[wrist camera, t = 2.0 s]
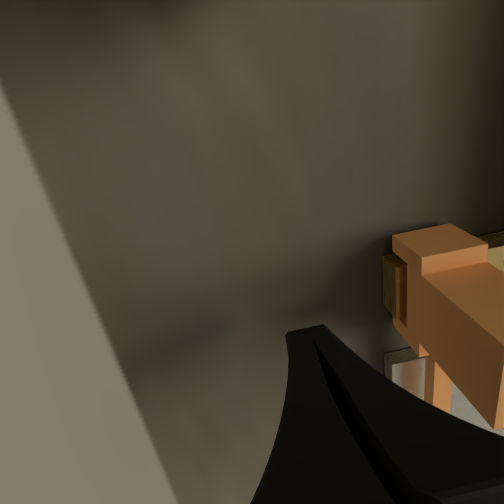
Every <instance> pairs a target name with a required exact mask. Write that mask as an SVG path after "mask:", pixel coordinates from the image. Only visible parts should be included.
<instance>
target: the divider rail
mask: <svg viewBox="0 0 504 504" xmlns="http://www.w3.org/2000/svg"><path fill="white" fill-rule="evenodd" d="M476 237H477V238H478V239H480V240H482V241H484V242H486V243H488V253H487V262H488V263H489V264H491V265H493V266H494V267H496V268H498V269H499V270H501V271H503V272H504V231H500V232H496V233H491V234H486V235H481V236H476ZM382 273H383V305H384V306H385V307H386V308H387V309H388V310H389V312H390V313H391V314H392V315H393V316H394V318H395V319H400V318H405V317H407V263H406V262H405V261H404V260H403V259H401V258H400V257H399V256H398V255H397V254H396V253H394V254H389V255H384V256H382Z"/></svg>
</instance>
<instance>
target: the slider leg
mask: <svg viewBox="0 0 504 504" xmlns="http://www.w3.org/2000/svg"><path fill="white" fill-rule="evenodd" d="M392 251H393V252H394V253H396V254H397V255H398V256H399V257H400V258H401V259H403V260H404V261H405V262H406V263H407V317H405V318H400V319H395V318H394V316H393V326H394V327H395V328H396V329H397V331H398V332H399V333H400V334H401V336H402V337H403V338H404V339H405V340H406V342H407V343H408V344H409V345H410V347H411V348H412V349H413V350H414V352H415V353H416V354H417V355H418V357H423V356H425V383H424V401H426V402H428V403H430V404H431V405H433V406H435V407H437V408H439V409H441V410H443V411H445V412H447V413H449V414H450V402H451V390H452V382H453V383H454V384H455V385H456V387H457V388H458V389H459V390H460V391H461V392H462V394H463V395H464V396H465V397H466V398H467V399H468V401H469V402H470V403H471V404H472V405H473V406H474V408H475V409H476V410H477V411H478V412H479V413H480V415H481V416H482V417H483V418H484V419H485V420H486V422H487V423H488V424H489V425H490V426H491V428H492V429H493V430H497V429H501V428H504V272H503V271H501V270H499V269H498V268H496V267H494V266H493V265H491V264H489V263H488V262H487V253H488V243H486V242H484V241H482V240H480V239H478V238H477V237H475V236H473V235H471V234H469V233H467V232H465V231H463V230H462V229H460V228H458V227H456V226H454V225H452V224H450V223H449V224H444V225H439V226H434V227H429V228H424V229H419V230H414V231H410V232H405V233H400V234H395V235H392Z"/></svg>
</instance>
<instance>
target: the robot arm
mask: <svg viewBox="0 0 504 504" xmlns="http://www.w3.org/2000/svg"><path fill="white" fill-rule="evenodd" d="M285 337H286V343H287V349H288V356H289V365H288V380H287V388H286V396H285V402H284V407H283V412H282V416H281V421H280V425H279V428H278V432H277V436H276V439H275V443H274V446H273V449H272V452H271V455H270V457H269V460H268V463H267V466H266V468H265V471H264V474H263V476H262V479H261V481H260V484H259V486H258V488H257V490H256V492H255V495H254V497H253V499H252V501H251V503H250V504H504V436H502V435H499V434H496V433H493V432H491V431H488V430H485V429H483V428H481V427H478V426H476V425H474V424H471V423H469V422H467V421H464V420H462V419H460V418H458V417H456V416H453V415H451V414H449V413H447V412H445V411H443V410H441V409H439V408H437V407H435V406H433V405H431V404H430V403H428V402H426V401H424V400H422V399H420V398H418V397H417V396H415V395H413V394H411V393H410V392H408V391H407V390H405V389H403V388H402V387H400V386H399V385H397V384H396V383H394V382H393V381H391V380H390V379H388V378H387V377H385V376H384V375H383V374H381V373H380V372H378V371H377V370H376V369H374V368H373V367H372V366H370V365H369V364H368V363H367V362H365V361H364V360H363V359H362V358H360V357H359V356H358V355H357V354H356V353H354V352H353V351H352V350H351V349H350V348H349V347H347V346H346V345H345V344H344V343H343V342H342V341H341V340H340V339H339V338H337V337H336V336H335V335H334V334H333V333H332V332H331V331H330V330H329V329H328V328H327V327H326V326H325V325H318V326H313V327H308V328H304V329H299V330H294V331H290V332H288V333H287V334H286V335H285Z"/></svg>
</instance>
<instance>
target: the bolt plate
mask: <svg viewBox="0 0 504 504" xmlns="http://www.w3.org/2000/svg"><path fill="white" fill-rule="evenodd" d="M384 364H385V377H387V378H388V379H390V380H391V381H393V382H394V383H396V384H397V385H399V386H400V387H402V388H403V389H405V390H407V391H408V392H410V393H411V394H413V395H415V396H417V397H418V398H420V399H422V400H424V383H425V356H423V357H418V355H417V354H416V353H415V352H414V350H413V349H412V348H408V349H403V350H398V351H394V352H389V353H384ZM450 414H451V415H453V416H456V417H458V418H460V419H462V420H464V421H467V422H469V423H471V424H474V425H476V426H478V427H481V428H483V429H485V430H488V431H491V432H493V433H496V434H499V435H502V436H504V428H501V429H497V430H493V429H492V428H491V426H490V425H489V424H488V423H487V422H486V420H485V419H484V418H483V417H482V416H481V415H480V413H479V412H478V411H477V410H476V409H475V408H474V406H473V405H472V404H471V403H470V402H469V401H468V399H467V398H466V397H465V396H464V395H463V394H462V392H461V391H460V390H459V389H458V388H457V387H456V385H455V384H454V383H453V382H452V390H451V402H450Z"/></svg>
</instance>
